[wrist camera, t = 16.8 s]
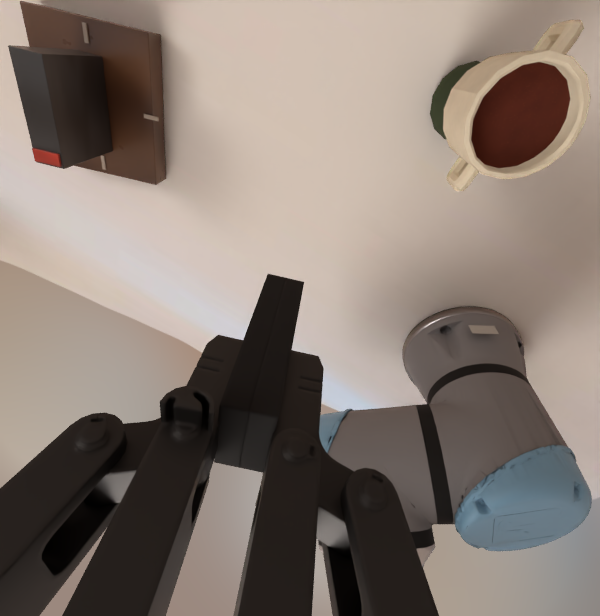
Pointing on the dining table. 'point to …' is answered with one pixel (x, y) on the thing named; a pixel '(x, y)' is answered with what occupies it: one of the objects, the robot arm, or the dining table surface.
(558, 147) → the cream and green cup
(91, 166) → the dial panel
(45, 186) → the dining table surface
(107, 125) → the red-cornered grey panel
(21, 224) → the dining table surface
